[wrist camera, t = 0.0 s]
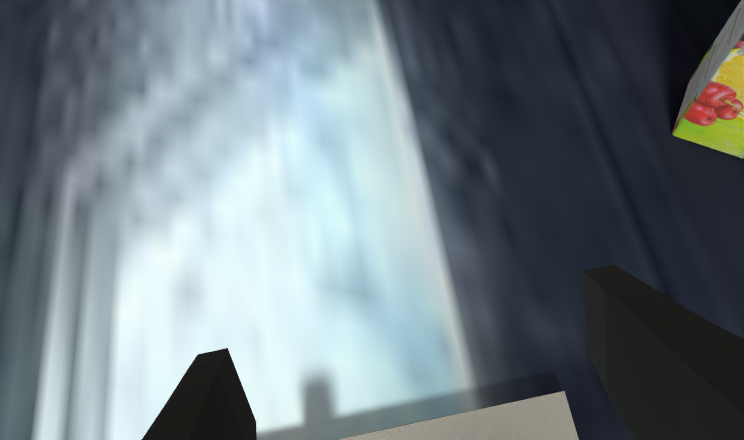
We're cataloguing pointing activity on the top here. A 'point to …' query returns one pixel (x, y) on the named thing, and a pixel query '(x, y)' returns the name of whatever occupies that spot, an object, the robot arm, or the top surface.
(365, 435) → the firebox plate
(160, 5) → the top surface
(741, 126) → the snack box
